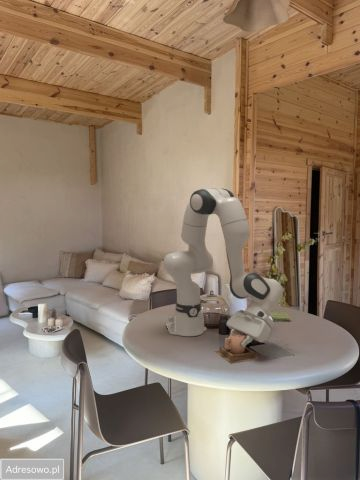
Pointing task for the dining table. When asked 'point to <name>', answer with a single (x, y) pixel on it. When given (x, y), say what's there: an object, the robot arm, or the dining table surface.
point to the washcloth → (279, 316)
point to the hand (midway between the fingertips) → (235, 343)
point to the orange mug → (235, 343)
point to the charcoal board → (271, 351)
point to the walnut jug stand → (237, 358)
